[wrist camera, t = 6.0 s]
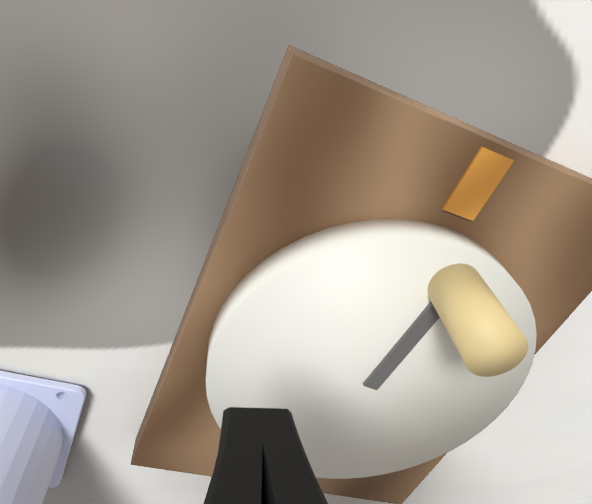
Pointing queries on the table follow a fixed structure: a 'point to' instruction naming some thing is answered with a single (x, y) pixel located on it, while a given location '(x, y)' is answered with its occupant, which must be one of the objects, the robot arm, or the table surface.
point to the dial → (374, 343)
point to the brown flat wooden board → (359, 207)
